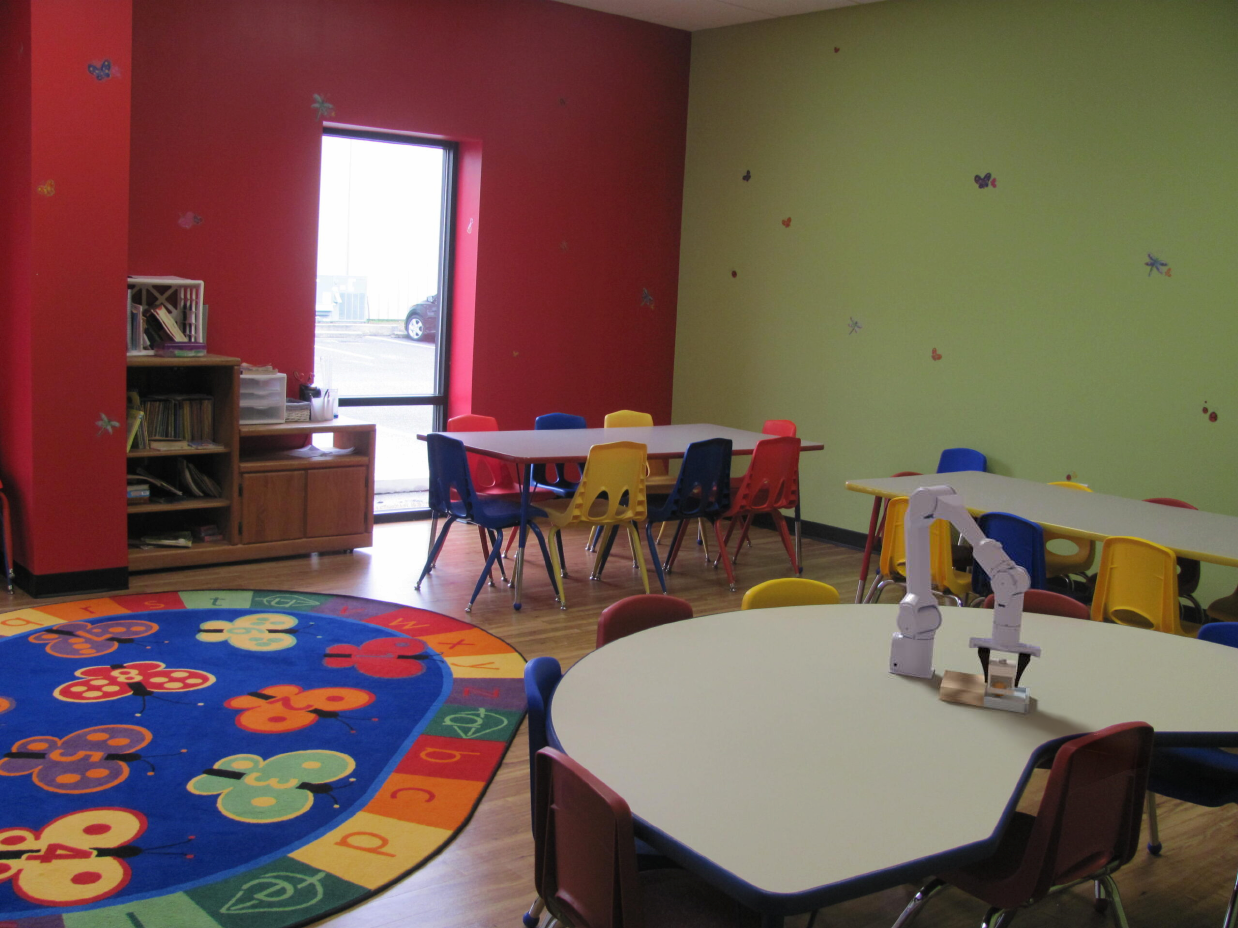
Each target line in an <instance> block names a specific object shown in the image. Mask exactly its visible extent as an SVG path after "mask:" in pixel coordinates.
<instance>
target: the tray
mask: <svg viewBox="0 0 1238 928" xmlns="http://www.w3.org/2000/svg"><path fill="white" fill-rule="evenodd" d="M987 687H988V683H987V685H986V691H985V696H984V702H983V706H982V707H983V708H989V709H997V710H1002V711H1008V712H1009V711H1010V712H1013V713H1014V712H1016V713H1021V714H1027V715H1028V714H1029V711H1030V710H1029V709H1030V694H1031V693H1030V692H1031V686H1025V685H1019V684H1018V688H1015V689H1014V696H1013V695H1003V696H997V695H995V694H994V693H989V692H987ZM991 688H992V686H991ZM1006 688H1007V687H1006ZM1007 690H1012V688H1007Z"/></svg>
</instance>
